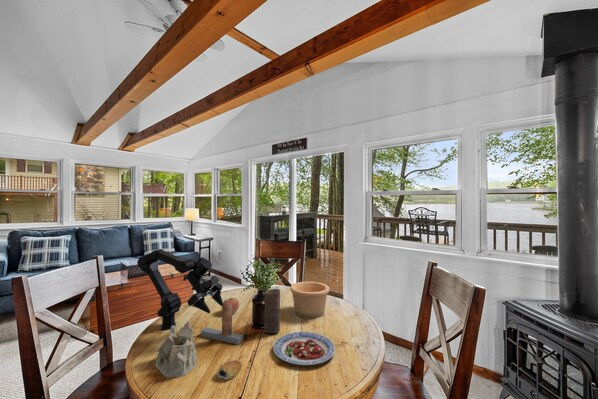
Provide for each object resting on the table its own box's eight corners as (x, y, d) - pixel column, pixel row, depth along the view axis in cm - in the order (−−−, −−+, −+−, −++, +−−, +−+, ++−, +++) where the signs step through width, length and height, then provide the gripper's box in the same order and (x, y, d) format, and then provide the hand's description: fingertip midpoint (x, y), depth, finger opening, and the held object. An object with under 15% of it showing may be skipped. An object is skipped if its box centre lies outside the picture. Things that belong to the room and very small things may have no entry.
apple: (241, 312, 154) (241, 298, 154) (228, 317, 147) (228, 302, 147) (232, 308, 160) (232, 294, 160) (218, 313, 153) (219, 298, 153)
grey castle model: (165, 351, 114) (166, 316, 113) (204, 355, 112) (205, 319, 112) (141, 378, 98) (141, 337, 97) (186, 382, 97) (187, 341, 96)
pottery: (295, 322, 143) (295, 294, 143) (286, 306, 164) (287, 282, 164) (334, 319, 148) (334, 292, 148) (321, 304, 169) (321, 280, 169)
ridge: (200, 336, 127) (200, 330, 127) (206, 332, 130) (206, 327, 130) (238, 344, 120) (238, 338, 120) (242, 340, 123) (242, 335, 123)
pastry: (232, 363, 107) (232, 353, 107) (246, 368, 104) (246, 358, 104) (214, 377, 98) (214, 366, 98) (229, 383, 95) (229, 372, 95)
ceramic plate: (325, 334, 131) (325, 328, 131) (343, 366, 105) (344, 359, 105) (271, 338, 126) (271, 332, 126) (276, 373, 101) (276, 365, 101)
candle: (277, 336, 128) (277, 293, 128) (262, 334, 129) (262, 291, 129) (281, 329, 135) (282, 288, 135) (267, 327, 137) (267, 287, 137)
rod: (222, 331, 126) (223, 303, 126) (232, 331, 127) (233, 303, 127) (220, 336, 122) (221, 306, 122) (231, 336, 122) (231, 306, 122)
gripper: (193, 276, 120) (214, 305, 116) (220, 266, 137) (238, 292, 133) (178, 292, 122) (198, 321, 118) (206, 280, 140) (224, 306, 136)
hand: (216, 309), depth 126 cm, fingers open, 9 cm apart
